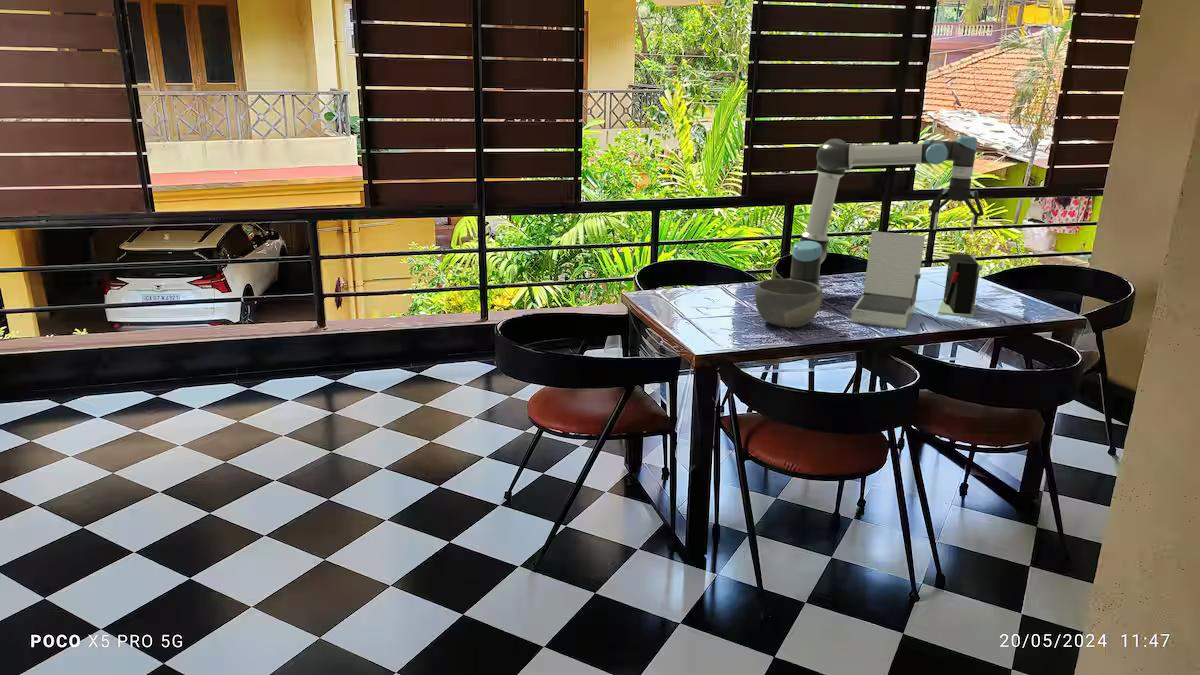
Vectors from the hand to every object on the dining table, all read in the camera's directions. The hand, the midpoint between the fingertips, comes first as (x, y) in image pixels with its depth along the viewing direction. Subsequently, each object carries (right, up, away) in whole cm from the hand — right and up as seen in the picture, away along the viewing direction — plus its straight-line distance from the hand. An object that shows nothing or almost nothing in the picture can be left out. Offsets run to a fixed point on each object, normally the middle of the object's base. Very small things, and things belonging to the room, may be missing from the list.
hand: (952, 231), depth 335 cm
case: (-29, -34, -5) cm, 45 cm away
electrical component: (+4, -30, +4) cm, 31 cm away
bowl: (-70, -38, -17) cm, 81 cm away
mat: (+4, -31, +4) cm, 31 cm away
